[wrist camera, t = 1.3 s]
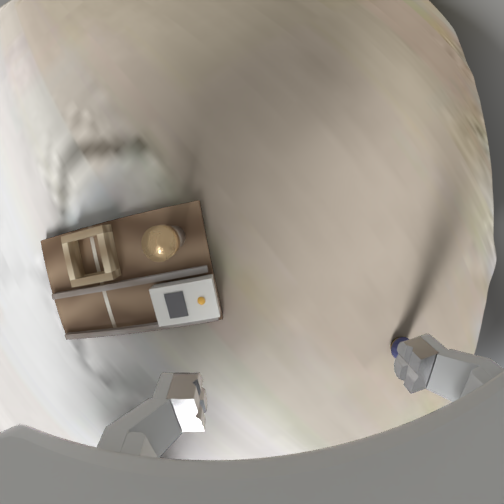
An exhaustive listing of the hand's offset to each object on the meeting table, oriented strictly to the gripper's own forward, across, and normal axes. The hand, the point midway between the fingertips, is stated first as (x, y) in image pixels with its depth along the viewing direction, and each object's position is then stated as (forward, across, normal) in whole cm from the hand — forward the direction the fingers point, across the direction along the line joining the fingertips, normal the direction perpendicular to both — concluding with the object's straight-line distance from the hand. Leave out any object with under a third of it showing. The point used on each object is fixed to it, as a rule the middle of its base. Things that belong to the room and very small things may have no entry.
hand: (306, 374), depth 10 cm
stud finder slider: (+25, -10, -6) cm, 27 cm away
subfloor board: (+26, -19, -3) cm, 33 cm away
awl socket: (+25, -23, +1) cm, 34 cm away
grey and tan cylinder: (+26, -11, +2) cm, 28 cm away
